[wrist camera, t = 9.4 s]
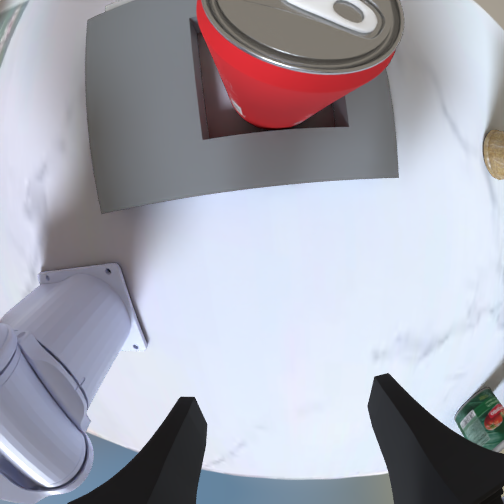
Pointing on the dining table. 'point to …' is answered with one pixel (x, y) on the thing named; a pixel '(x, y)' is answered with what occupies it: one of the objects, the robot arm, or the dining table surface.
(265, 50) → the red soda can
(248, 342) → the dining table surface
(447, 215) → the dining table surface
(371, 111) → the grey tray with recess
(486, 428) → the canned tomato
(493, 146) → the sprinkles bottle
